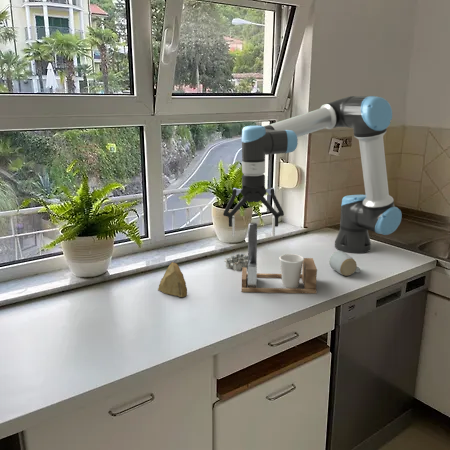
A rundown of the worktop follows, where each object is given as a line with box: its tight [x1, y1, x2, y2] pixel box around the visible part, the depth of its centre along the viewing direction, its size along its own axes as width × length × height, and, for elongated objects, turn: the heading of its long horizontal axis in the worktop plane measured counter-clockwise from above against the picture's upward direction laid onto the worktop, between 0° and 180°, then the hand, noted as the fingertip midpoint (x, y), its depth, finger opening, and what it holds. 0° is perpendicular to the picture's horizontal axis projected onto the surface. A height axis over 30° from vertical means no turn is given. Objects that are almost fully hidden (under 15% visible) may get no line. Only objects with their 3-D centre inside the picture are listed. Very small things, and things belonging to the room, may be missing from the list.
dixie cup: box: [278, 253, 305, 289], centre depth 160 cm, size 8×8×10 cm
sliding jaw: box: [247, 222, 258, 288], centre depth 159 cm, size 3×10×22 cm, turn 177°
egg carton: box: [223, 252, 248, 271], centre depth 180 cm, size 11×8×4 cm
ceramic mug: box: [328, 250, 361, 277], centre depth 172 cm, size 11×8×8 cm
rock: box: [157, 261, 188, 298], centre depth 154 cm, size 11×9×10 cm
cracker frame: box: [241, 257, 318, 294], centre depth 161 cm, size 25×14×8 cm, turn 87°
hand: (253, 235), depth 158 cm, fingers open, 13 cm apart
